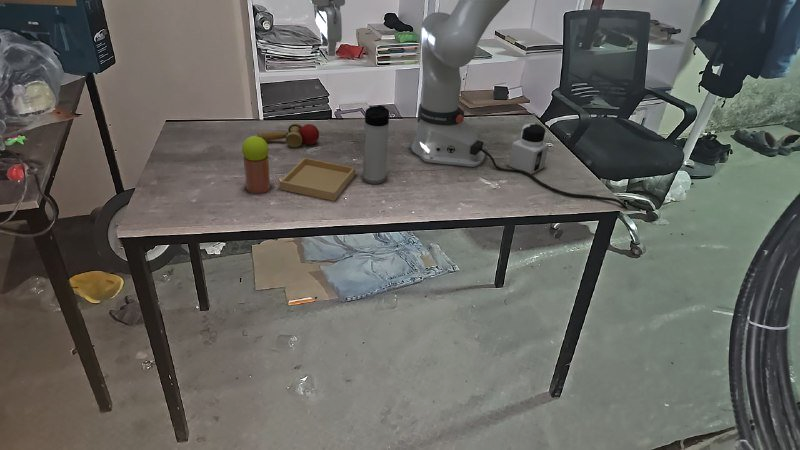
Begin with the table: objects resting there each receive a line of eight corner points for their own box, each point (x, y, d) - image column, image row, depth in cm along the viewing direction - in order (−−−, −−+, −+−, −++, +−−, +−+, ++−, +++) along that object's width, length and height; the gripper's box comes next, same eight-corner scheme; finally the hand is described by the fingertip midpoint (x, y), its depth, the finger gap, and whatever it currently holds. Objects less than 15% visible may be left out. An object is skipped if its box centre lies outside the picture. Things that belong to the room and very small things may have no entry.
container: (543, 167, 167) (553, 127, 160) (530, 175, 162) (539, 134, 155) (521, 158, 171) (530, 118, 164) (507, 166, 166) (515, 125, 159)
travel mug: (389, 175, 156) (393, 107, 145) (380, 186, 151) (384, 116, 140) (368, 171, 158) (371, 103, 147) (359, 181, 152) (361, 111, 142)
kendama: (258, 152, 166) (319, 146, 166) (254, 131, 163) (316, 125, 164) (262, 145, 173) (321, 139, 173) (259, 125, 171) (318, 119, 171)
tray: (355, 175, 155) (355, 167, 154) (334, 201, 143) (334, 192, 141) (304, 165, 158) (304, 157, 157) (279, 189, 146) (279, 181, 145)
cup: (274, 184, 148) (272, 153, 143) (263, 195, 143) (260, 163, 138) (253, 180, 149) (251, 149, 144) (242, 190, 144) (239, 159, 139)
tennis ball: (273, 157, 144) (272, 134, 140) (261, 168, 138) (259, 144, 135) (251, 153, 145) (249, 130, 141) (238, 163, 140) (235, 140, 136)
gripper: (348, 5, 138) (347, 61, 146) (333, -12, 155) (332, 40, 162) (322, 5, 137) (323, 61, 144) (310, -12, 153) (310, 40, 160)
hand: (328, 50), depth 153 cm, fingers open, 8 cm apart
